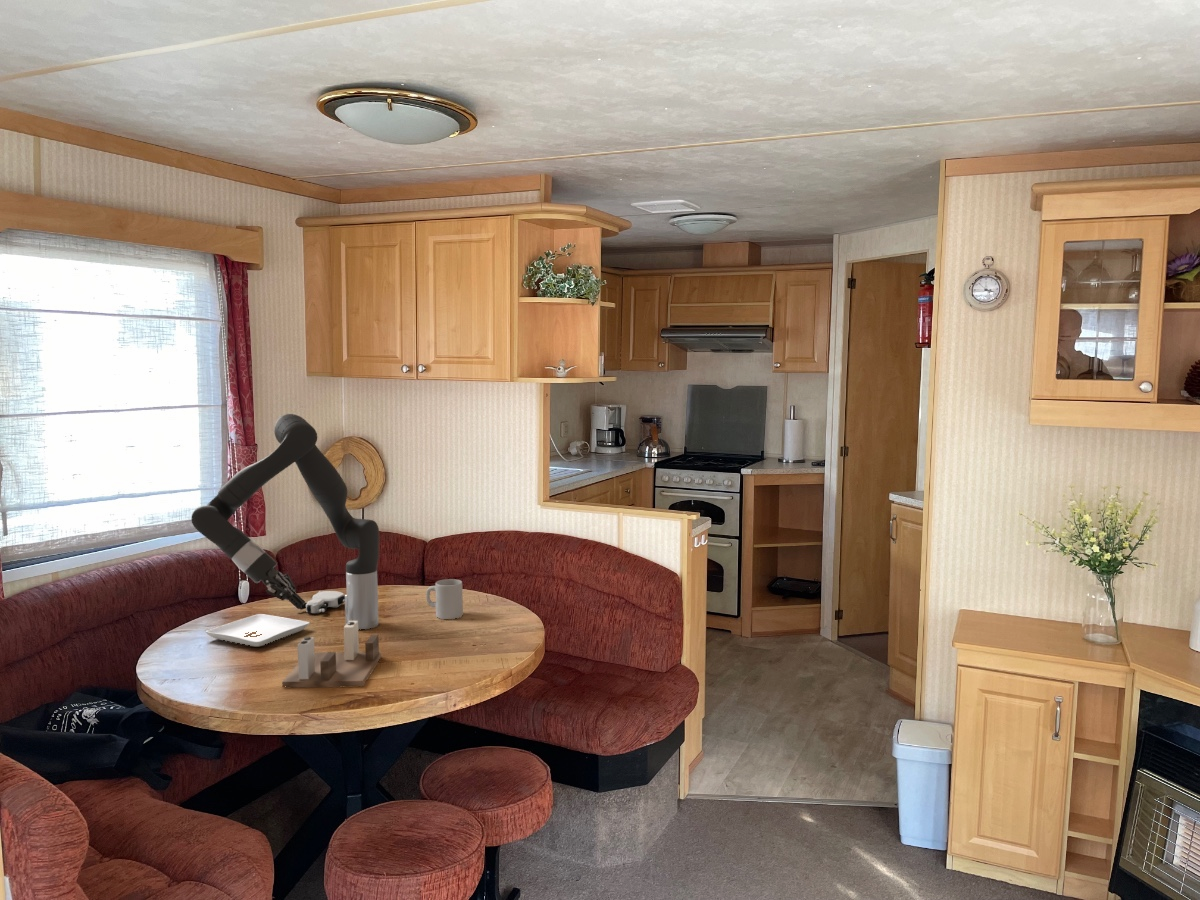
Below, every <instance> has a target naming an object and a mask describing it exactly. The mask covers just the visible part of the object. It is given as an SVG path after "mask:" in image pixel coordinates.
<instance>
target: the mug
mask: <svg viewBox="0 0 1200 900" xmlns="http://www.w3.org/2000/svg"><path fill="white" fill-rule="evenodd" d="M431 592H435V601H432V600H431ZM425 593H426V594H425V595H426V603H427V605H429V607H431V608H435V617H436V618H437V617H438V618H437V619H439V618H440V619H439V620H443V619H452V620H456V619H455V618H457V619H460V618H462V617H463V616H464V605H463V604H464V603H463V602H464V601H463V597H464V596H463V581H462V580H460V579H455V578H449V579H448V578H445V579H440V580H437V581H435V585H431V586H428V588H427V589H426V592H425ZM462 615H463V616H462ZM461 616H462V617H461ZM459 617H460V618H459Z"/></svg>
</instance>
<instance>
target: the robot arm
mask: <svg viewBox="0 0 1200 900" xmlns="http://www.w3.org/2000/svg"><path fill="white" fill-rule="evenodd" d="M273 432H274V433H273V434H274V437H275V439H276V440H277V442H278V443H279V445H278V446H277V447H276V448H275V450H273V451H272V452H271V453H270V454H269V455H267V456H266V457H264V458H262V459H260V460H258V461H256V462H254V463H252V464H250V465H248V466H246V467H243V468H242V469H241V470H239V471H238V472H236V473H235V474H234V475H233V476H232V477H231V478H230V479H229V480H228V481H227V482H226V483H225V484H224V485H223V486H222V487H220V489H219V490H218V492H217V494H216V495H215V496H214V497H213V498H212V499H211V500H210V501H209V502H208V503H207V504H205V505H201V506H198V507H197V508H195V509H194V510H193V512H192V514H191V520H190V521H191V524H192V525H193V527H194V528H195V530H196V531H197V532H199V533H200V534H201V535H202V536H204V537H205V538H206V539H208V540H209V541H210V542H211V543H212V544H215V545H216V546H217V547H218V548H219V549H220V550H221V551H222V552H223V554H225V555H226V556H227V557H228V558H229V559H230V560H232V562H233V563H234V564H235V566H237V568H238V569H240V571H241V572H243V573H244V574H245V575H246V576H247V577H248V578H250V579H251V580H252V582H254V583H255V584H258V583H260V582H262V583H263V584H264V586H266V589H265V592H266V593H267V594H268V595H271V596H272V597H275V598H276V599H279V600H280V601H289V603H290V604H292V605H293V606H294V608H295V607H296V608H297V609H296V610H301V609H300V608H301V607H302V606H303V605H304V604H305V603H306V601H305V599H303V598H302V597H301V596H300V595H299V594H298V593H297V587H296V585H295V583H294V582H293V580H292V578H291V576H290V575H289V574H288V573H285V574H283V573H282V572H281V571H279V570H277V569H276V568H275V567H277V564H278V562H277V561H276V559H274V558H273V557H272V556H271V555H270V554H268V552H266V551H265V549H263V548H262V547H261V546H260V545H259V544H257V543H256V542H254V541H253V540H252V539H251V538H250V537H249V536H247V535H246V534H245V532H244V531H242V529H240V528H238V527H235V526H234V525H232V523H231V522H229V519H231V517H232V516H233V515H234V514H235V512H237V510H238V509H239V508H240V507H242V506H243V505H244V504H245V503H246V502H247V501H248V500H249V499H250V498H251V497H253V495H254V494H256V492H258V491H259V490H260V489H261V488H262V487H263V486H265V484H267V483H268V482H269V481H270V480H272V479H273V478H275V477H276V476H277V475H279V474H280V473H282V472H283V471H284V470H286V469H287V468H288V467H290V466H291V465H293V464H294V463H295V465H296V466H297V468H298V470H299V473H300V475H301V476H302V478H303V479H304V481H305V484H306V485H307V486H308V489H309V491H310V492H311V494H312V495H313V497H314V498H315V500H316V501H317V502H318V504H319V505H320V507H321V508H322V510H323V512H324V513H325V515H326V517H327V518H328V521H329V522H330V524H331V526H332V528H333V531H334V533H335V535H336V537H337V539H338V540H339V542H340V544H341V545H342V546H343V547H344V548H348V549H355V550H358V557H356V558H354V559H351V560H348V561H347V562H346V564H345V579H346V581H345V582H346V585H345V586H346V594H344V595H345V602H344V615H345V625H346V624H347V623H348V622H349V621H358V631H361V629H365V630H370V628H371V629H375V628H376V627H378V626H379V625H380V624H379V622H380V620H379V595H378V594H379V593H378V592H379V591H378V590H379V589H378V588H379V587H378V563H379V558H380V528H379V525H378V524H377V522H376V521H375V520H374V519H373V520H372V519H366V518H365V519H364V518H357V517H356V518H355V517H353V516H352V515H351V513H350V512H349V511H348V509H347V506H346V503H347V501H348V500H347V499H348V487H347V485H346V483H345V481H344V479H343V477H342V476H341V474H340V472H338V470H337V469H336V468H335V466H334V465H333V464H332V463H331V461H330V460H329V458H327V457H326V455H324V453H322V451H320V449H319V448H318V446H317V445H316V444H317V442H318V433H317V431H316V429H315V428H314V427H313V426H312V425H311V424H310V423H309V422H308V421H307V420H305V418H303V417H302V416H300V415H297V414H294V413H286V414H284V415H282V416H280V417H278V419H277V420H276V422H275V425H274V430H273ZM359 629H360V630H359Z"/></svg>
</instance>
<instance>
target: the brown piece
mask: <svg viewBox="0 0 1200 900" xmlns="http://www.w3.org/2000/svg"><path fill="white" fill-rule="evenodd" d="M379 643H380V642H379V634H371V635H370V636H369V637H368V639H366V641H365V645H364V647H365V649H364V651H359V653H358V655H357V656H356V657H355V659H354V660H345V656H344V651H341V652H340V651H338V652H337V651H328V652H315V672H314V673H313V674H312V675H311V677H310V678H309V679H299V672H298V663H297V664H296V665H295V667H294V668H293V669H292V670H291V671H290V672H289V673H288V674H287V676H286V677H284V679H283V680H282V681H281V682H282V683H281V684H282V687H285V686H286V687H290V688H344V687H343V686H363V687H364V686H365V684H366V682H367V681H366V680H368V679H369V677H370V676H371V674H372V673H371V672H373V671H374V670H373V669H375V668H376V666H377V665H378V663H379V662H380V660H381V658H382V652H381V651H380V649H379V648H380V647H379V646H380V644H379ZM379 659H380V660H379ZM378 661H379V662H378ZM377 662H378V663H377ZM376 664H377V665H376ZM374 667H375V668H374ZM372 670H373V671H372ZM370 673H371V674H370ZM369 675H370V676H369ZM367 678H368V679H367ZM365 681H366V682H365ZM364 683H365V684H364ZM340 686H342V687H340Z"/></svg>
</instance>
